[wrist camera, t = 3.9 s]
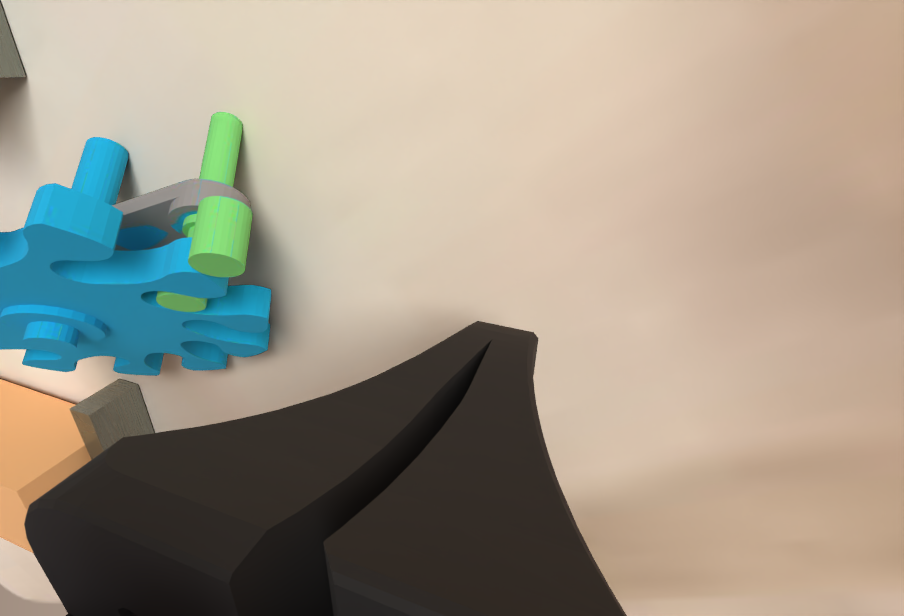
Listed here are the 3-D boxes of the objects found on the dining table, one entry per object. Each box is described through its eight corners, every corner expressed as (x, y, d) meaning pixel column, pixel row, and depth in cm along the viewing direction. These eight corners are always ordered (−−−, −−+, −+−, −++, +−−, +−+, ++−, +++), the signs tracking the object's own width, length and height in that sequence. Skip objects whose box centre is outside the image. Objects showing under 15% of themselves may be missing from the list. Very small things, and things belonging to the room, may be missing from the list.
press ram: (147, 488, 22) (56, 564, 19) (1, 431, 25) (-99, 489, 22) (121, 420, 20) (16, 491, 17) (-33, 368, 23) (-148, 420, 20)
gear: (105, 405, 17) (-431, 310, 9) (139, 260, 20) (-260, 72, 11) (376, 361, 14) (-69, 135, 5) (378, 192, 16) (70, -158, 8)
